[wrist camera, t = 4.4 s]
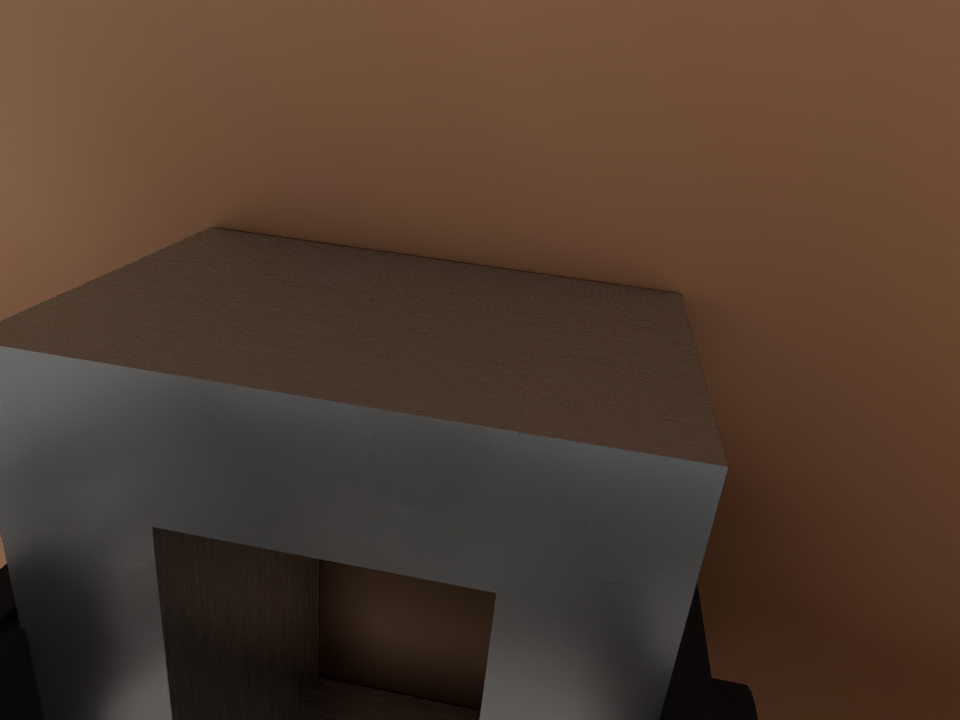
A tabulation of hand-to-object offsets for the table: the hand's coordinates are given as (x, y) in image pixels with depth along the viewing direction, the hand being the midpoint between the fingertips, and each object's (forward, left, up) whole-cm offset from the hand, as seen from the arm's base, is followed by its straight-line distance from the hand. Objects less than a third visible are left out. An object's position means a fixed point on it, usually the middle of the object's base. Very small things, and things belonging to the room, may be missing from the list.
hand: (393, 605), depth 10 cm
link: (0, 0, -1) cm, 1 cm away
